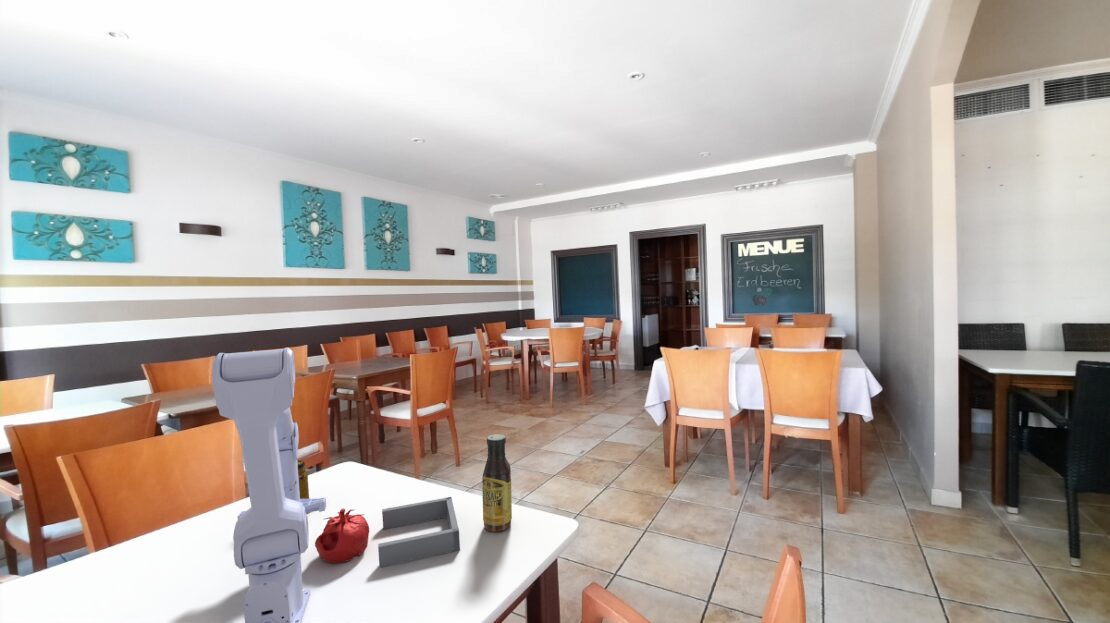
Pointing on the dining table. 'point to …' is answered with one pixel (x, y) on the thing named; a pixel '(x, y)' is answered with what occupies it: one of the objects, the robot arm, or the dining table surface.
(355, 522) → the pomegranate
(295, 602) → the robot arm
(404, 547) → the tray
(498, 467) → the sauce bottle
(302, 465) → the condiment
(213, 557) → the dining table surface
